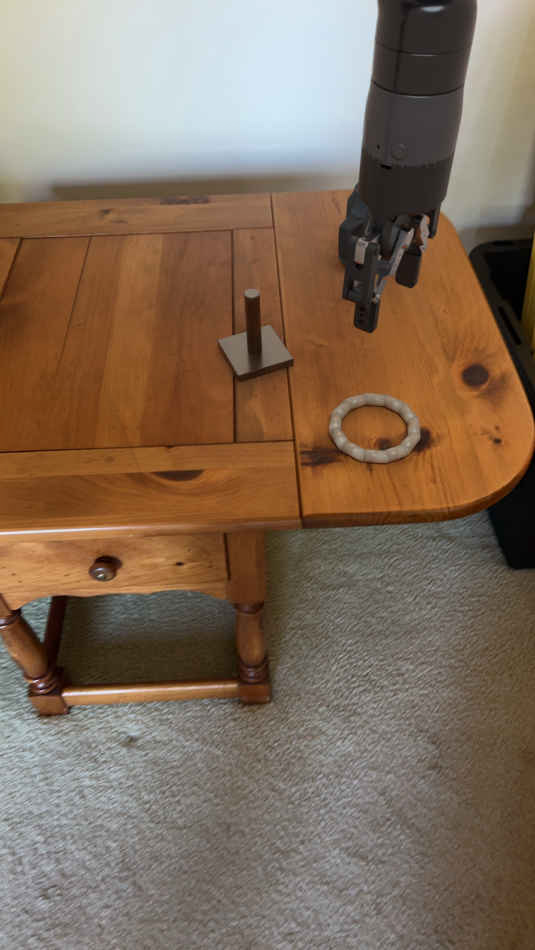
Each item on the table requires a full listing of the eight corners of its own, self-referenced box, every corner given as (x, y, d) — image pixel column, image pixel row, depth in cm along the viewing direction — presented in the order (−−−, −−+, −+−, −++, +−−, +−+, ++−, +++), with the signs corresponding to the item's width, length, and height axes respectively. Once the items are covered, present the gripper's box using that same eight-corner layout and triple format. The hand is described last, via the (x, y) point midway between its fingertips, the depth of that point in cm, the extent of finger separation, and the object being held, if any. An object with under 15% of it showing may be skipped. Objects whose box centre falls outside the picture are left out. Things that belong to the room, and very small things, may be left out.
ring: (355, 477, 77) (356, 468, 75) (314, 415, 83) (314, 406, 82) (436, 447, 79) (438, 439, 78) (390, 389, 85) (392, 381, 84)
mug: (358, 234, 109) (364, 166, 100) (406, 252, 105) (417, 184, 96) (316, 268, 103) (318, 199, 94) (365, 288, 99) (372, 219, 91)
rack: (238, 382, 87) (233, 319, 79) (217, 346, 92) (211, 284, 84) (293, 365, 89) (294, 302, 81) (270, 331, 94) (268, 268, 86)
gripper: (407, 97, 58) (386, 260, 71) (322, 163, 51) (315, 331, 63) (488, 117, 55) (450, 282, 68) (410, 189, 48) (385, 359, 61)
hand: (385, 306), depth 66 cm, fingers open, 8 cm apart
